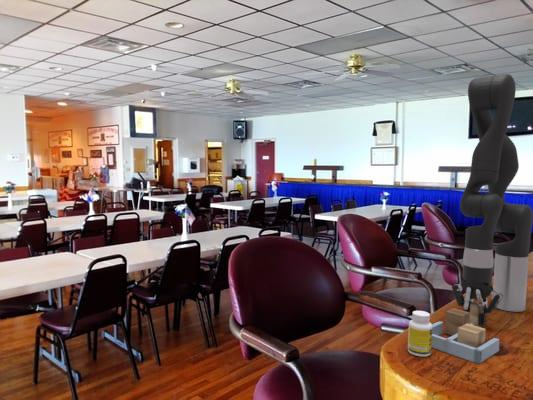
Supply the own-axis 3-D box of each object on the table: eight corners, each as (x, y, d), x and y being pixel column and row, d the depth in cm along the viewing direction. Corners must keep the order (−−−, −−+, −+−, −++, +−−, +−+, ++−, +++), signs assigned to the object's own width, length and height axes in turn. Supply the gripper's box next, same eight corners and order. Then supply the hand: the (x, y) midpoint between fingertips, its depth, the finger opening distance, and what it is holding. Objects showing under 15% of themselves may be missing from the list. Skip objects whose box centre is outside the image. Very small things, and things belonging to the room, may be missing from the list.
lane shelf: (438, 331, 119) (439, 321, 119) (498, 351, 107) (499, 339, 107) (416, 342, 112) (417, 330, 112) (478, 364, 100) (479, 351, 100)
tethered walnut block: (469, 321, 126) (470, 300, 126) (485, 325, 123) (486, 304, 122) (445, 333, 117) (446, 311, 117) (461, 338, 114) (463, 316, 113)
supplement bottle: (433, 358, 103) (434, 318, 102) (409, 356, 104) (410, 316, 103) (429, 348, 108) (431, 310, 107) (406, 346, 109) (407, 308, 108)
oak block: (465, 346, 110) (466, 323, 109) (484, 352, 106) (485, 328, 106) (456, 351, 107) (457, 327, 106) (475, 358, 103) (477, 333, 103)
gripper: (510, 266, 119) (506, 327, 121) (459, 257, 130) (456, 314, 131) (498, 270, 114) (495, 334, 116) (447, 261, 125) (444, 319, 127)
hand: (474, 323), depth 124 cm, fingers closed on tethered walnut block, 3 cm apart
